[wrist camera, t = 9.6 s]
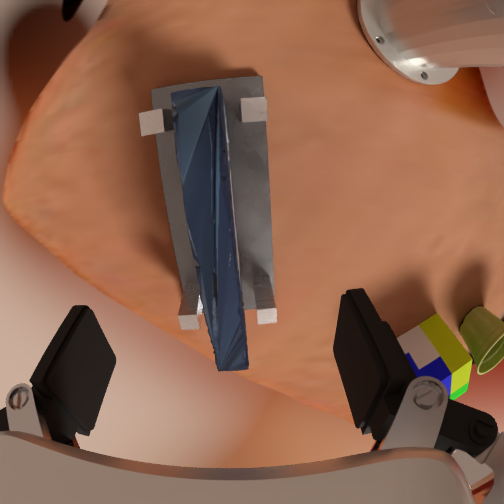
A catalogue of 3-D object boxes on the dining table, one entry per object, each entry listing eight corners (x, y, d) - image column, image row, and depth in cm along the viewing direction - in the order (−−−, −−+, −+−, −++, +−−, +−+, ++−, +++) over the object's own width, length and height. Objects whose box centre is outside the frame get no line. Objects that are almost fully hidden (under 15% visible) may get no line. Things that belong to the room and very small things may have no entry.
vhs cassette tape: (243, 294, 28) (249, 371, 19) (214, 296, 28) (208, 373, 19) (231, 97, 20) (230, 81, 11) (194, 101, 20) (166, 89, 11)
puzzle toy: (378, 347, 36) (406, 402, 27) (436, 312, 34) (472, 359, 25) (389, 378, 40) (411, 425, 31) (439, 348, 38) (466, 390, 29)
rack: (154, 90, 20) (130, 83, 15) (261, 77, 20) (270, 64, 15) (189, 308, 30) (183, 347, 25) (273, 301, 30) (281, 339, 25)
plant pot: (488, 286, 33) (519, 317, 25) (491, 316, 36) (516, 345, 29) (447, 323, 35) (476, 360, 27) (455, 348, 39) (478, 381, 31)
